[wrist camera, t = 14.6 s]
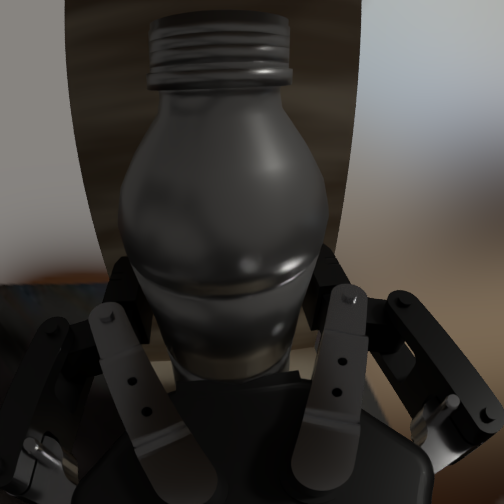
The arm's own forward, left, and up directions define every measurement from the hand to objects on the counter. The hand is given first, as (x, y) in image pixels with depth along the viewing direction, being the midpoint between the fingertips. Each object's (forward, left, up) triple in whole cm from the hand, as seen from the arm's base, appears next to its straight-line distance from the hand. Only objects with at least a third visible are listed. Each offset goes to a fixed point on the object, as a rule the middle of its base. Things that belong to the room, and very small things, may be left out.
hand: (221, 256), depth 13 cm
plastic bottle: (-2, -2, -11) cm, 11 cm away
